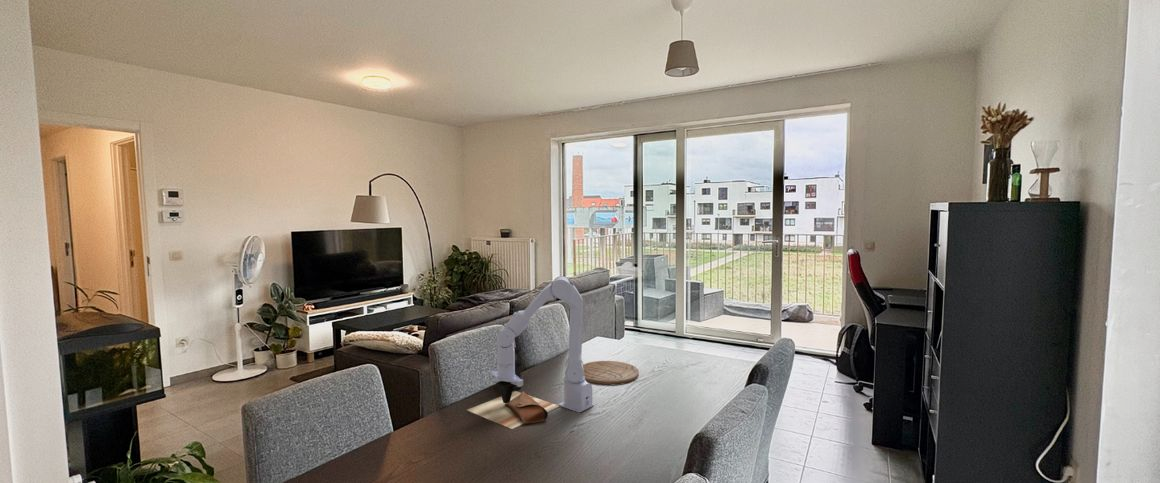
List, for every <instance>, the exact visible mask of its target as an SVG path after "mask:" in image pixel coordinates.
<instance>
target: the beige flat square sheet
mask: <svg viewBox="0 0 1160 483" xmlns="http://www.w3.org/2000/svg"><path fill="white" fill-rule="evenodd" d="M521 393H522V392H520V391H517V390H513V392H512V395H511V399H510V401H511V400H512V399H514V398H515V397H517V396H518V395H520V394H521ZM527 395H528V396H530V397H531V398H532V399H534V400H535V401H536V402H537V403H538V404H539V405H541V406H542V407H543V408H544V409H545V410H546V411H547V413H548V414H549V413H550V412H553V411H554V410H556V409H559V408H560V407H561V406H559V404H556V403H555V404H554V403H552V402H549V401H546V400H543V399H540V398H538V397H535V396H531V395H529V394H527ZM506 404H507V403H506ZM466 411H467V412H469V413H471V414H474V415H476V416H478V417H481V418H484V419H486V420H487V421H491V422H493V423H496V424H498V425H500V426H502V427H505V428H507V429H509V430H513V429H515V428H518V427H520V426H522V425H524V424H525V423H523V422H522V421H521V420H520V419H519V418H518V417H517V416H516V415H515V414H514V413H513V412H512V411H511V410H510V409H509V408H508V407H506V406H505V403H503V400H502V396H501V395H500V396H499V397H496V398H494V399H491V400H489V401H486V402H484V403H481V404H478V405H475V406H474V407H470V408H468V409H466Z"/></svg>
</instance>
